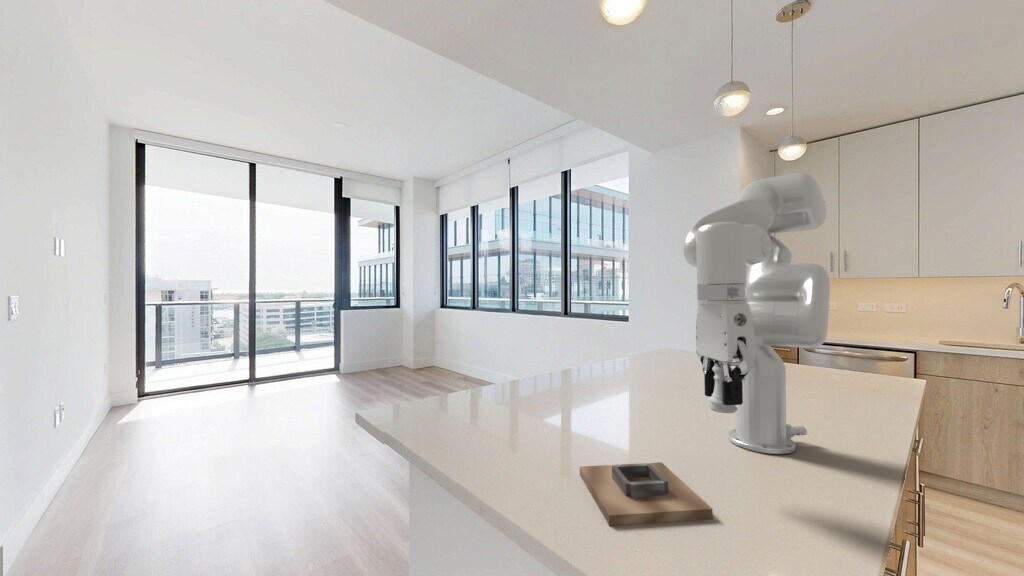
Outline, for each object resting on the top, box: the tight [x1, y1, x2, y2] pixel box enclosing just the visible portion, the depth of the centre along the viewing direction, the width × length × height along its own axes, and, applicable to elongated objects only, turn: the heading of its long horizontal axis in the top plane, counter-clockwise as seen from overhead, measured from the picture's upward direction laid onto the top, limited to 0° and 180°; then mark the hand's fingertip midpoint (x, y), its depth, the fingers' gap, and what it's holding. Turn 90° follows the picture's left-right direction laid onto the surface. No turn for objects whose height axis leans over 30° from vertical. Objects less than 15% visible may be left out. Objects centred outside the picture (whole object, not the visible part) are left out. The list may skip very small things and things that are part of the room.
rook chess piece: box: [708, 362, 738, 414], centre depth 68 cm, size 4×4×8 cm
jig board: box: [579, 461, 714, 527], centre depth 66 cm, size 16×16×4 cm
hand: (722, 398), depth 68 cm, fingers closed on rook chess piece, 4 cm apart
